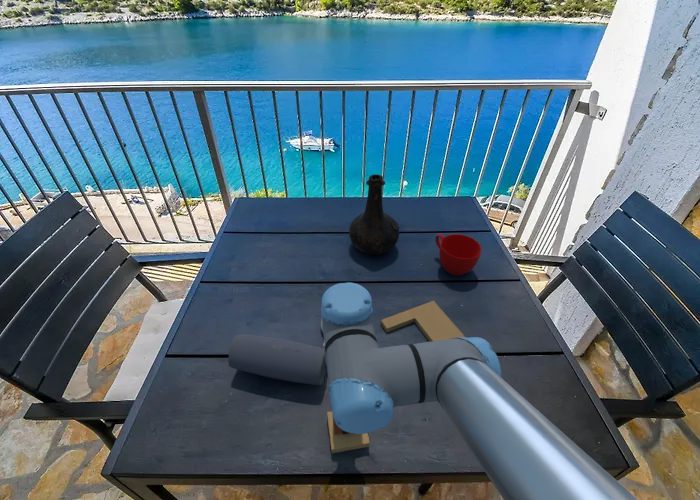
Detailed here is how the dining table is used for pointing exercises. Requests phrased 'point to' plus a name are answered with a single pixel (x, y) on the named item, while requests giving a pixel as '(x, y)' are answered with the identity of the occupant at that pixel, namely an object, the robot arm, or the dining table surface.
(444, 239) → the ceramic cup
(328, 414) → the open box
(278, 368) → the bluetooth speaker
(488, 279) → the dining table surface
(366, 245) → the glass bottle
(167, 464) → the dining table surface
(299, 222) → the dining table surface
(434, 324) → the base pad
